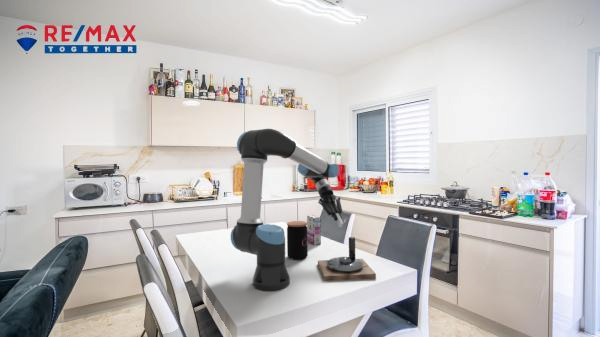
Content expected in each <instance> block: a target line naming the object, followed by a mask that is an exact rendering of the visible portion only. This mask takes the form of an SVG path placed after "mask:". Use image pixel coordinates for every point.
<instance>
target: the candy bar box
mask: <svg viewBox="0 0 600 337" xmlns="http://www.w3.org/2000/svg"><path fill="white" fill-rule="evenodd" d="M321 219H322V218H321V217H319V216H318V215H314V214H309V215H306V222H307V225H306V226H307V243H310V244H312V245H313V246H317V245H319V246H320V245H321V243H322V241H321V240H322V235H321V233H322V229H321V228H322V227H321V226H322V225H321V224H322V220H321Z"/></svg>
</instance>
